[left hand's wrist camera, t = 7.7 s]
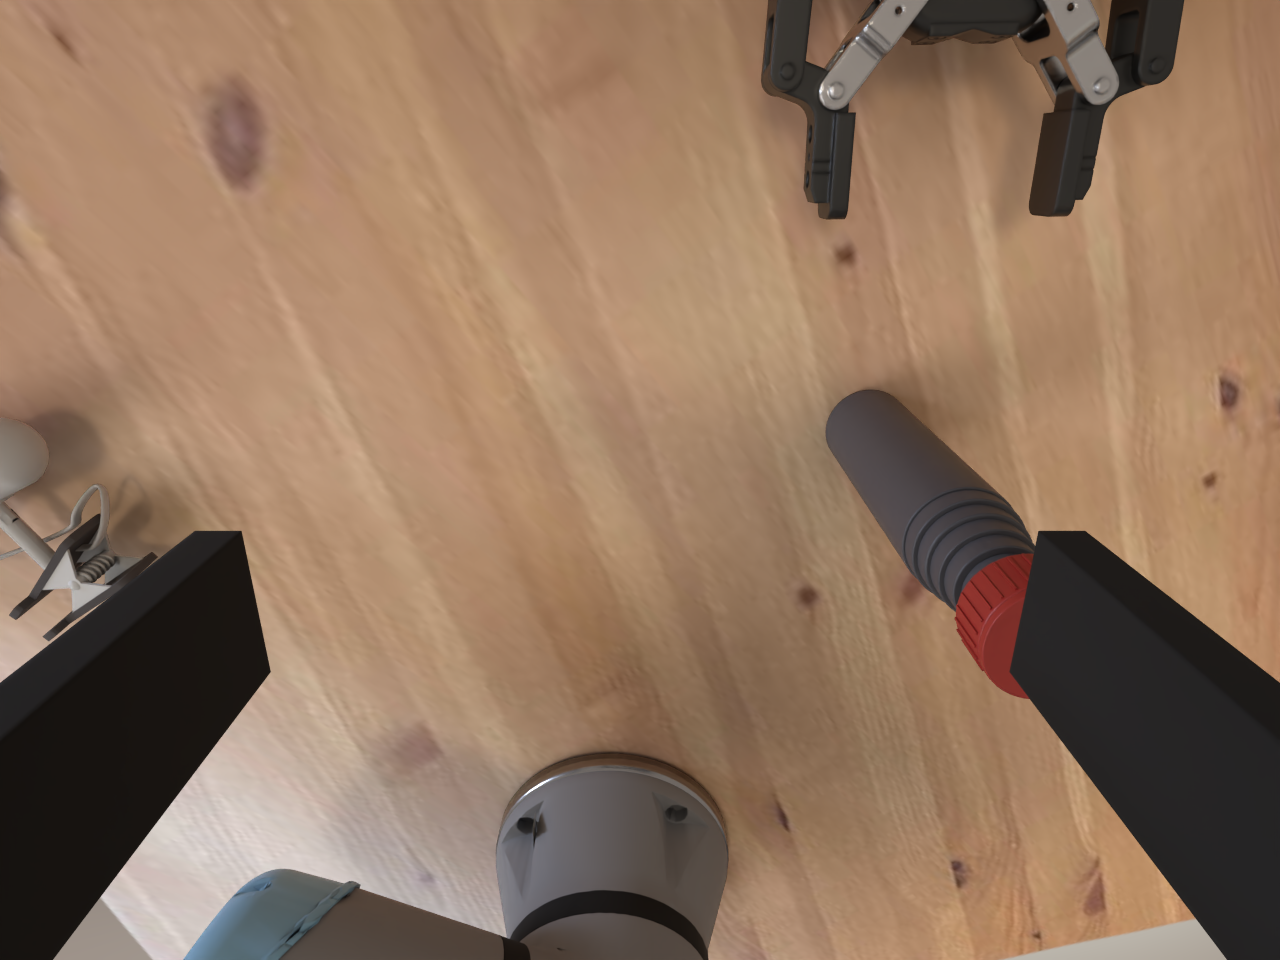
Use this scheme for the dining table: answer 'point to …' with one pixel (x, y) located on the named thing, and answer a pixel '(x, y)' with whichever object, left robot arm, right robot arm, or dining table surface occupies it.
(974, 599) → the cap
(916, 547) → the bottle
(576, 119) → the dining table surface
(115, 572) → the clip-on lamp
